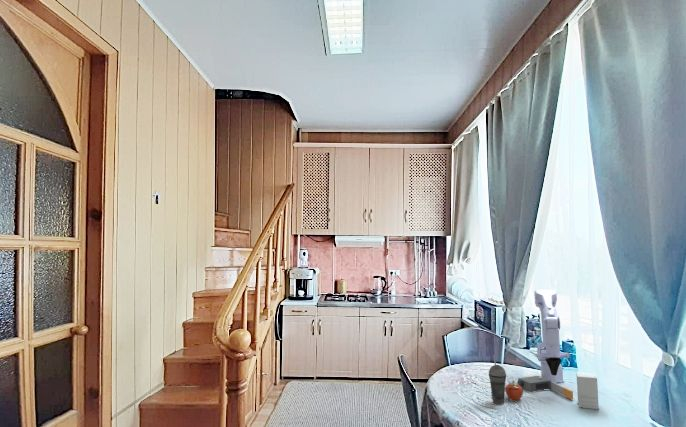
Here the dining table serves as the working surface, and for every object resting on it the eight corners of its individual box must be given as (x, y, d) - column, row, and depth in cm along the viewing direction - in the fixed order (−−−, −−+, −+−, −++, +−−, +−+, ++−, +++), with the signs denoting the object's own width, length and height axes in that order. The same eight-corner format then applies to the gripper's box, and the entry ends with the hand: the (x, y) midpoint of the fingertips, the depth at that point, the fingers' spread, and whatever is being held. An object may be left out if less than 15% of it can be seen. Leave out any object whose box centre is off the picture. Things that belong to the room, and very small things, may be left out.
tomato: (505, 401, 194) (504, 382, 194) (505, 395, 201) (504, 377, 201) (523, 403, 191) (523, 383, 192) (523, 397, 198) (522, 378, 199)
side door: (550, 388, 208) (549, 381, 208) (552, 388, 208) (552, 380, 209) (571, 399, 194) (570, 391, 194) (573, 399, 194) (573, 391, 194)
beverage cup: (505, 406, 187) (503, 357, 188) (487, 403, 191) (485, 355, 192) (509, 401, 193) (507, 353, 195) (491, 398, 197) (490, 351, 198)
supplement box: (597, 404, 189) (595, 373, 190) (599, 410, 182) (597, 378, 183) (577, 401, 192) (576, 371, 193) (578, 407, 185) (576, 376, 186)
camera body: (539, 384, 216) (538, 374, 216) (552, 389, 208) (551, 379, 209) (516, 387, 212) (516, 377, 212) (528, 392, 204) (528, 382, 205)
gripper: (542, 346, 197) (544, 378, 196) (573, 345, 199) (574, 376, 199) (533, 343, 204) (534, 373, 203) (563, 341, 206) (564, 371, 206)
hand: (553, 374), depth 201 cm, fingers closed
